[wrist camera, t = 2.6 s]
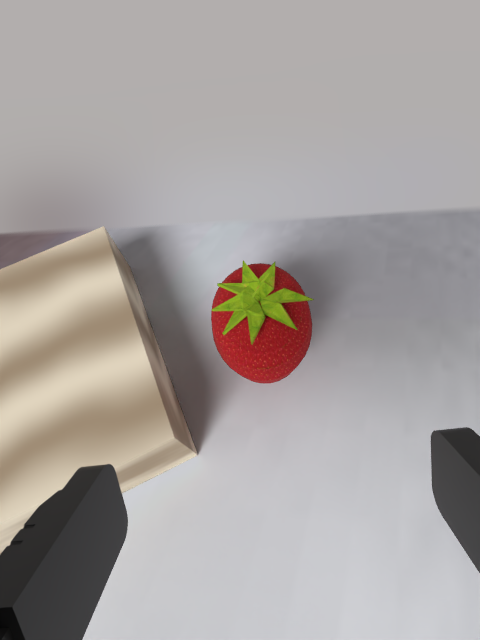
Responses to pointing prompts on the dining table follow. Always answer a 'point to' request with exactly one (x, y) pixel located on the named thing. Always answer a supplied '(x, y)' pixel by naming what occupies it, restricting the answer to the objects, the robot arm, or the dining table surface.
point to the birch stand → (79, 378)
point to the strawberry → (261, 322)
